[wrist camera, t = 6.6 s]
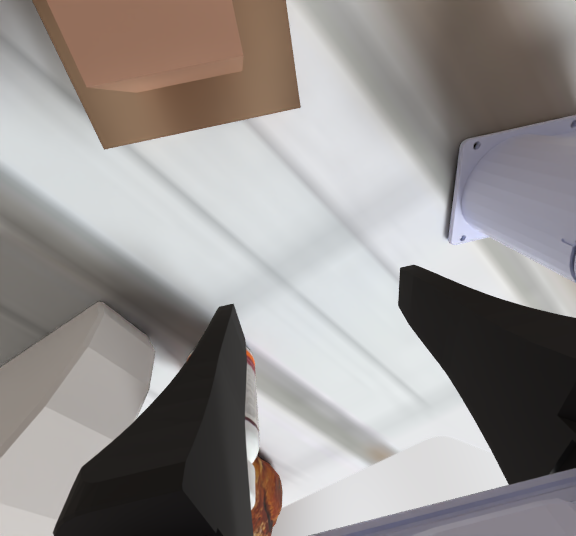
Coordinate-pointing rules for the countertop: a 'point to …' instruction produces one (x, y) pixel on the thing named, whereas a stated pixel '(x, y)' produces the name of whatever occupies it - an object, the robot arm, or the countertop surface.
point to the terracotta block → (149, 41)
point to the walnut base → (196, 83)
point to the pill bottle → (251, 422)
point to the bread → (265, 498)
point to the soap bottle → (66, 412)
